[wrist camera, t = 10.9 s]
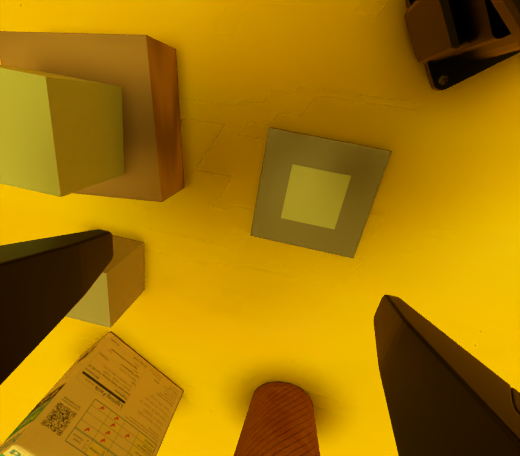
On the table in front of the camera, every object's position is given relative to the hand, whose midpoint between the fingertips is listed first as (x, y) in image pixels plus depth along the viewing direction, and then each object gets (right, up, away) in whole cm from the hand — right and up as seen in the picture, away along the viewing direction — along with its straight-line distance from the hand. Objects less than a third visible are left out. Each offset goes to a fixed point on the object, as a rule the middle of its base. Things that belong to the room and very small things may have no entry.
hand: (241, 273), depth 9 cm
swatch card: (+5, +4, +11) cm, 12 cm away
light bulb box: (-13, -14, +22) cm, 29 cm away
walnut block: (-9, +9, +11) cm, 17 cm away
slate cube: (-12, -1, +16) cm, 20 cm away
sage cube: (-10, +8, +8) cm, 15 cm away
